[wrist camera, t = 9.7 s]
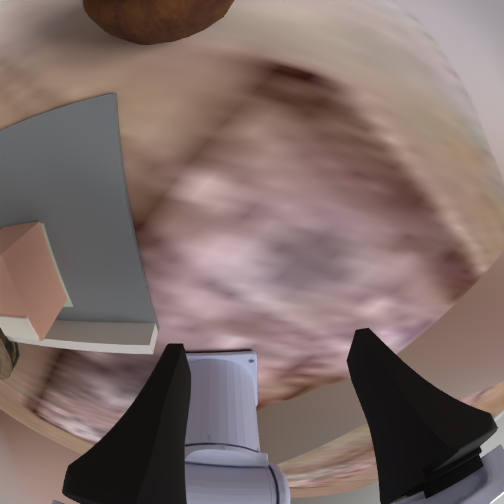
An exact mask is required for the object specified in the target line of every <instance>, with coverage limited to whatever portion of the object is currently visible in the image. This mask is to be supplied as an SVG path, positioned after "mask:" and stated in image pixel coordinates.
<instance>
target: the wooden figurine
mask: <svg viewBox="0 0 504 504" xmlns="http://www.w3.org/2000/svg"><path fill="white" fill-rule="evenodd" d="M233 2H234V0H83V5H84V9H85V11H86V13H87V14H88V16H89V17H90V18H91V19H92V20H93V21H94V22H95V23H96V24H98V25H99V26H100V27H101V28H102V29H103V30H104V31H106V32H107V33H109V34H110V35H112V36H115V37H118V38H120V39H124V40H127V41H130V42H134V43H137V44H140V45H150V44H157V43H163V42H172V41H175V40H179V39H182V38H186V37H189V36H191V35H193V34H195V33H198V32H200V31H202V30H205V29H206V28H208V27H209V26H211V25H212V24H214V23H215V22H217V21H218V20H220V19H221V18H223V17H224V16H225V14H226V13H227V11H228V9H229V8H230V6H231V5H232V3H233Z"/></svg>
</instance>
